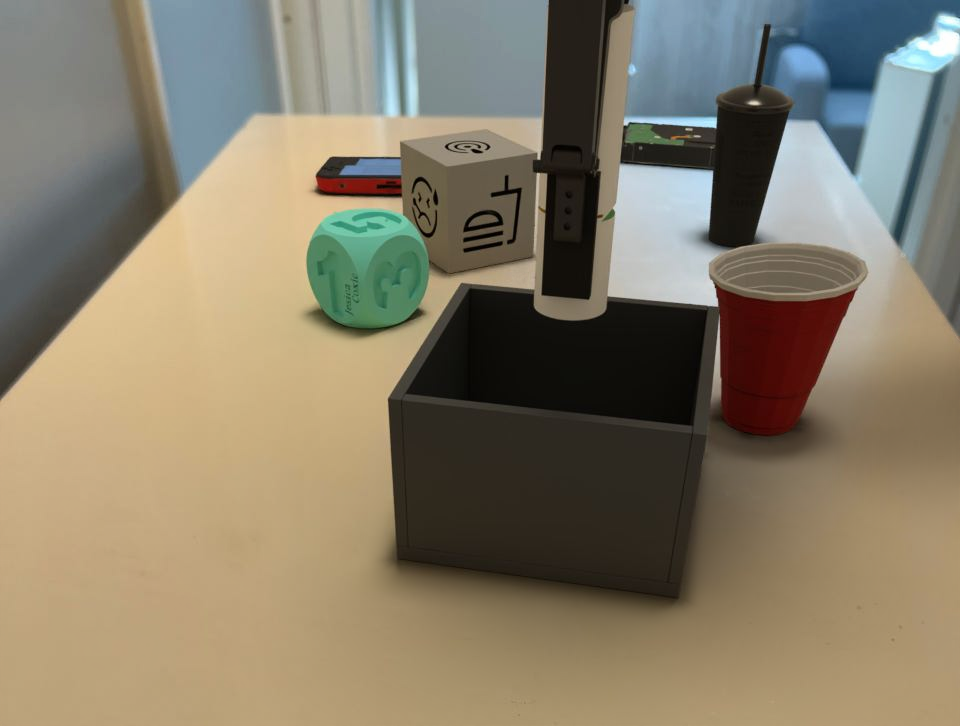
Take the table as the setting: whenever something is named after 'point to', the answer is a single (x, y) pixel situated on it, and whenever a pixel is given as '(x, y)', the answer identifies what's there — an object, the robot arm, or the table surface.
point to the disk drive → (669, 145)
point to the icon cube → (470, 198)
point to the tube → (608, 182)
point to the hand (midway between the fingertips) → (572, 277)
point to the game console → (360, 175)
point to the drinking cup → (745, 154)
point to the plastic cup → (778, 327)
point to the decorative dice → (367, 267)
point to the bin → (554, 439)
